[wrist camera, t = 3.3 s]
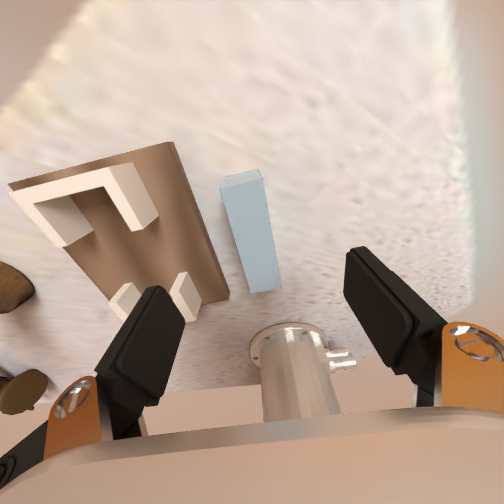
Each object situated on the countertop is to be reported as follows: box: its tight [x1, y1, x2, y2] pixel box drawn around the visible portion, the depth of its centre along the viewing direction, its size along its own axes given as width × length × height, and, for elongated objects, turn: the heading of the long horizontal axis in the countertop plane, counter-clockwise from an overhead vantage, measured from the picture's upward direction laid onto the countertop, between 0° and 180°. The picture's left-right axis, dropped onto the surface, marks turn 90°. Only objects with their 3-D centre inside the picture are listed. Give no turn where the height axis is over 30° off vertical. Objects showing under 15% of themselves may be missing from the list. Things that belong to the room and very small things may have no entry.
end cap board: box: [8, 142, 230, 305], centre depth 20 cm, size 14×17×2 cm
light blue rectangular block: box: [219, 169, 282, 294], centre depth 17 cm, size 3×10×5 cm, turn 12°
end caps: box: [8, 162, 202, 323], centre depth 18 cm, size 8×16×3 cm, turn 12°
